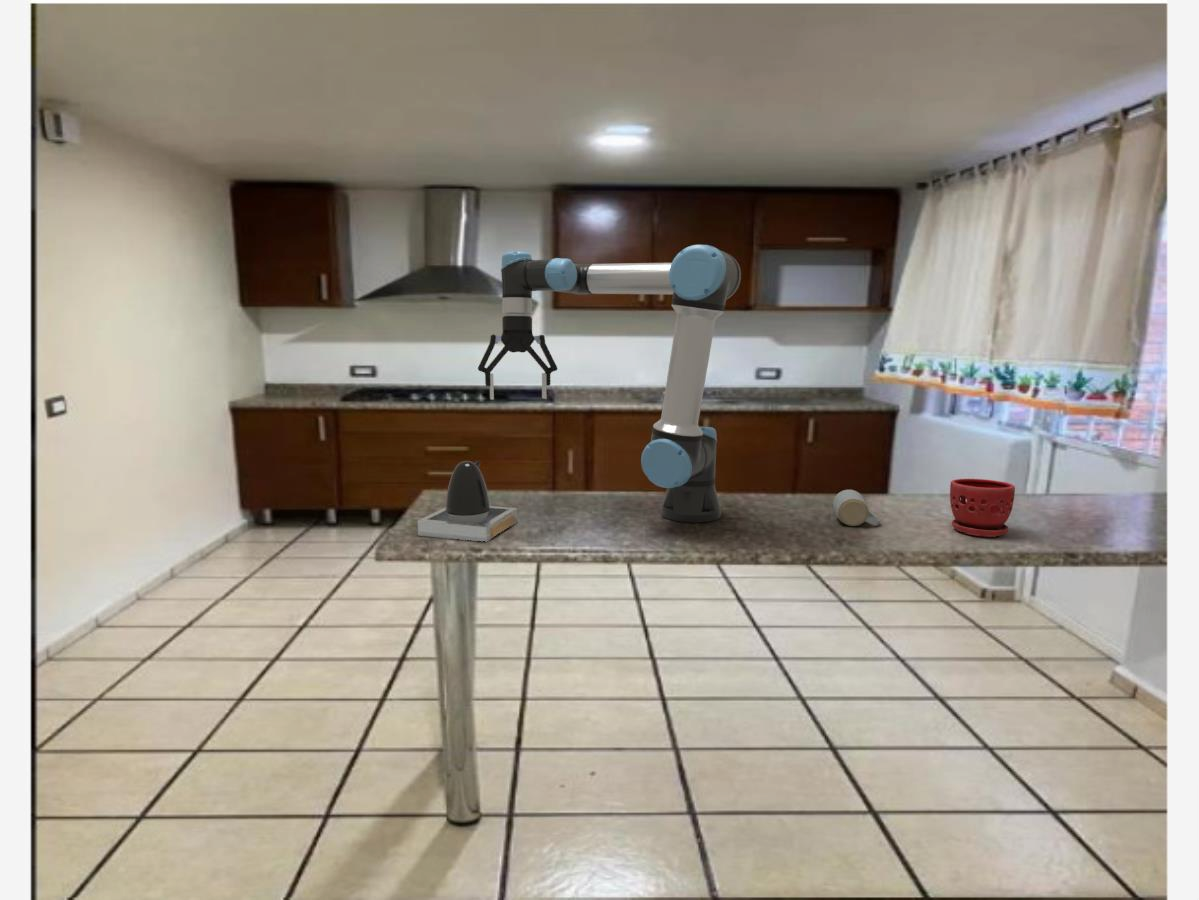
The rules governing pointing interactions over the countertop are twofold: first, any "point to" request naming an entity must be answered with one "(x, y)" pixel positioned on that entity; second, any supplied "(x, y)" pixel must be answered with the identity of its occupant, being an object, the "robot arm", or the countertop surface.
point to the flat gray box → (467, 525)
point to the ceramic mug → (853, 509)
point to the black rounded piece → (467, 494)
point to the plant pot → (981, 506)
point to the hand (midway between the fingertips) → (518, 398)
